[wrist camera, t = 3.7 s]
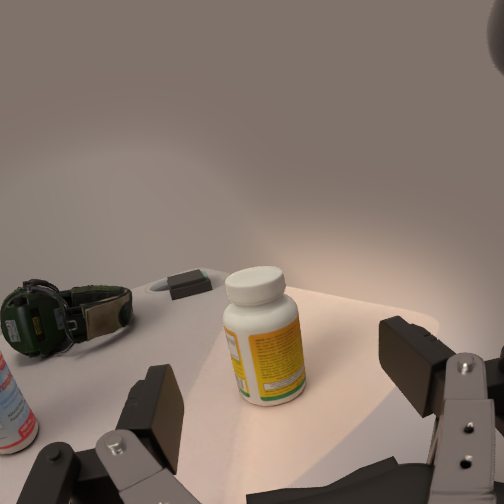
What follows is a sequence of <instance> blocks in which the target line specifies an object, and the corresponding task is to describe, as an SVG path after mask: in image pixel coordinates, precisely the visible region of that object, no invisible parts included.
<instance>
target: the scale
mask: <svg viewBox="0 0 504 504" xmlns="http://www.w3.org/2000/svg"><path fill="white" fill-rule="evenodd" d="M167 278H168V280H167V283H168V287H169V290H170V294H171V297H172V300H175V299H179V298H182V297H186V296H190V295H194V294H198V293H201V292H205V291H209V290H212V286H211V281H210V280H209V278H208V275H207V274H206V273H205V272H204V271H200V270H199V269H198V270H194V271H190V272H186V273H183V274H179V275H175V276H171V277H167Z"/></svg>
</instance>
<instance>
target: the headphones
mask: <svg viewBox="0 0 504 504" xmlns="http://www.w3.org/2000/svg"><path fill="white" fill-rule="evenodd" d="M37 285H41V286H45V287H49V288H51V289H53V290H54V291H53V290H50V289H49V288H45V287H40V286H37ZM0 320H1V329H2V333H3V335H4V337H5V339H6V341H7V342H8V343H9V344H10V345H11V347H12V348H14V349H15V350H17V351H18V352H20V353H22V354H24V355H27V356H29V357H31V358H32V357H36V356H38V355H39V354H41V356H42V357H46V356H48V352H50V351H52V350H54V349H55V348H57V347H58V346H60V345H61V344H62V343H63V342H64V341H65V340H66V338H67V337H68V338H69V339H70V341H72V343H71V344H70V345H69V346H68V347H67V348H66V349H64V350H62V351H60V352H58V353H54V354H60V353H64V352H66V351H68V350H69V349H70V348H71V347H72V346H73V345H74V343H81V342H84V341H89V340H91V339H93V338H95V337H98V336H102V335H106V334H110V333H113V332H115V331H116V330H118V329H119V328H122V327H125V326H126V325H129V324H130V323H131V322H132V320H133V308H132V292H131V291H130V290H129V289H127V288H124V287H118V286H103V285H100V286H93V285H91V286H89V285H88V286H83V287H73V288H72V289H71V290H66V291H60V292H59V290H58V288H57V287H56V286H54V285H53V284H51V283H49V282H47V281H45V280H39V279H31V280H29V281H25V282H23V287H22V288H21V287H18V288H17V290H14V292H12V293H11V294H9V295H8V296H7V297H6V299H5V300H4V302H3V304H2V306H1V310H0Z"/></svg>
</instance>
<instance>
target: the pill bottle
mask: <svg viewBox="0 0 504 504" xmlns="http://www.w3.org/2000/svg"><path fill="white" fill-rule="evenodd" d="M37 432H38V422H37V419H36V418H35V416H34V414H33V412H32V411H31V409H30V407H29V406H28V404H27V402H26V401H25V399H24V397H23V395H22V393H21V392H20V390H19V388H18V386H17V384H16V382H15V380H14V378H13V376H12V374H11V372H10V370H9V368H8V366H7V364H6V362H5V360H4V358H3V355H2V353H1V351H0V454H11V453H14V452H17V451H19V450H22V449H23V448H25V447H27V446H28V445H29V444H30V443H31V442H32V441H33V440H34V438H35V436H36V434H37Z"/></svg>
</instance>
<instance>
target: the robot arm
mask: <svg viewBox="0 0 504 504" xmlns="http://www.w3.org/2000/svg"><path fill="white" fill-rule="evenodd" d="M486 38H487V47H488V52H489V55H490V58H491V60H492V62H493V64H494V66H495V68H496V69H497V70H498V71H499V73H501V74H502V75H503V76H504V0H494V1H493V3H492V6H491V9H490V12H489V16H488V20H487V28H486ZM379 361H380V364H381V367H382V368H383V370H384V371H385V372H386V374H387V375H388V376H389V377H390V378H391V380H392V381H393V382H394V383H395V385H396V386H397V387H398V388H399V389H400V391H401V392H402V393H403V394H404V396H405V397H406V398H407V399H408V401H409V402H410V403H411V404H412V406H413V407H414V408H415V409H416V411H417V412H418V413H419V414H420V415H421V417H422V418H424V417H426V416H429V415H431V414H433V413H434V414H435V415H436V419H435V423H434V430H433V435H432V440H431V445H430V451H429V455H428V459H427V463H426V464H424V463H406V464H398V463H397V461H396V459H395V458H394V456H392V457H390V458H387V459H385V460H382V461H379V462H377V463H374V464H371V465H368V466H366V467H362V468H360V469H358V470H356V471H354V472H352V473H351V474H349V475H347V476H345V477H343V478H342V479H340V480H338V481H336V482H334V483H332V484H330V485H327V486H324V487H313V488H283V489H278V490H272V491H267V492H261V493H254V494H247V495H246V501H247V504H504V483H500V482H496V481H494V471H495V427H496V429H497V430H498V431H499V432H500V433H501V434H502V435H503V437H504V346H503V348H502V350H501V355H500V358H496V359H492V360H488V361H483V359H482V358H481V357H479V356H477V355H476V354H472V353H459V354H456V353H455V352H454V351H452V350H451V349H450V348H449V347H447V346H446V345H445V344H443V343H442V342H441V341H440V340H437V338H436V337H435V336H433V335H431V333H430V332H428V331H427V330H426V329H425V328H423V327H420V326H418V325H415V324H409V323H407V322H406V321H405V320H404V319H402V318H401V317H400V316H394V317H391V318H388V319H384V320H381V321H380V323H379ZM127 398H128V399H127V400H126V403H125V407H124V408H123V410H122V413H121V416H120V418H119V421H118V424H117V426H116V429H115V430H113V431H110V432H108V433H106V434H104V435H103V436H102V437H101V438H100V439H99V440H98V441H97V443H96V447H95V448H94V449H90V450H85V451H80V452H74V450H73V449H72V447H71V446H70V445H69V444H67V443H65V442H54V443H51V444H49V445H47V446H45V447H44V448H43V449H42V450H41V451H40V452H39V454H38V456H37V458H36V460H35V462H34V464H33V467H32V469H31V471H30V473H29V475H28V478H27V480H26V482H25V484H24V487H23V489H22V491H21V494H20V496H19V499H18V501H17V503H16V504H69V501H70V504H201V503H200V502H199V501H198V500H197V499H196V498H195V497H194V496H193V495H192V494H191V493H190V492H189V491H188V490H187V489H186V488H185V487H184V486H183V485H182V484H181V483H180V482H179V481H178V480H177V479H176V478H175V477H174V476H173V475H176V473H177V464H178V456H179V448H180V439H181V432H182V424H183V416H184V403H183V398H182V395H181V392H180V390H179V387H178V384H177V381H176V378H175V376H174V373H173V370H172V367H171V366H170V365H169V364H165V365H157V366H150V367H149V369H148V372H147V375H146V378H145V380H139V381H138V382H137V383H136V384H135V385H134V386H133V387H132V388H131V390H130V392H129V395H128V397H127Z"/></svg>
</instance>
